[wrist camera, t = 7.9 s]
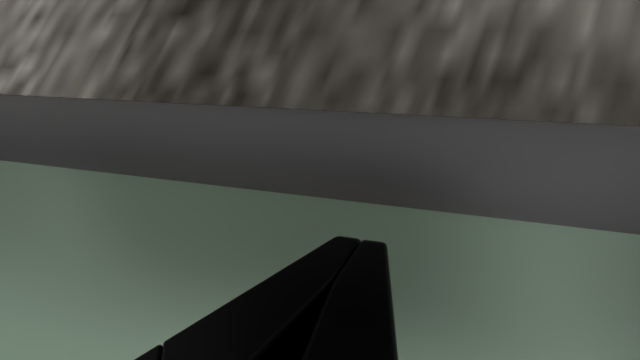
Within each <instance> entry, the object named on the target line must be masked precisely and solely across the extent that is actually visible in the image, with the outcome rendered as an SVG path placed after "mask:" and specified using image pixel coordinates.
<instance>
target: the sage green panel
mask: <svg viewBox="0 0 640 360" xmlns="http://www.w3.org/2000/svg"><path fill="white" fill-rule="evenodd" d="M336 236H344V237H351V238H357V239H359V240H360V241H363V240H372V241H379V242H384V243H386V245H387V248H388V258H389V268H390V279H391V289H392V299H393V309H394V319H395V329H396V339H397V349H398V360H640V126H626V125H606V124H586V123H565V122H545V121H525V120H505V119H485V118H465V117H445V116H425V115H405V114H384V113H364V112H344V111H324V110H304V109H284V108H264V107H244V106H224V105H203V104H183V103H163V102H143V101H123V100H103V99H83V98H63V97H43V96H22V95H2V94H0V360H134V359H136V358H138V357H139V356H141V355H143V354H144V353H146V352H147V351H149V350H151V349H152V348H154V347H156V346H157V345H162V346H163V343H164V341H166V340H167V339H169V338H171V337H172V336H174V335H176V334H177V333H179V332H180V331H182V330H184V329H185V328H187V327H189V326H190V325H192V324H193V323H195V322H197V321H198V320H200V319H202V318H203V317H205V316H207V315H208V314H210V313H211V312H213V311H215V310H216V309H218V308H220V307H221V306H223V305H225V304H226V303H228V302H229V301H231V300H233V299H234V298H236V297H238V296H239V295H241V294H242V293H244V292H246V291H247V290H249V289H251V288H252V287H254V286H256V285H257V284H259V283H260V282H262V281H264V280H265V279H267V278H269V277H270V276H272V275H274V274H275V273H277V272H278V271H280V270H282V269H283V268H285V267H287V266H288V265H290V264H291V263H293V262H295V261H296V260H298V259H300V258H301V257H303V256H305V255H306V254H308V253H309V252H311V251H313V250H314V249H316V248H318V247H319V246H321V245H323V244H324V243H326V242H327V241H329V240H331V239H332V238H334V237H336Z"/></svg>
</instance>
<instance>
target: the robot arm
mask: <svg viewBox="0 0 640 360" xmlns="http://www.w3.org/2000/svg"><path fill="white" fill-rule="evenodd" d="M134 360H398V349H397V339H396V329H395V319H394V309H393V299H392V289H391V279H390V268H389V258H388V248H387V245H386V243H384V242H379V241H372V240H363V241H360V240H359V239H357V238H351V237H344V236H336V237H334V238H332V239H331V240H329V241H327V242H326V243H324V244H323V245H321V246H319V247H318V248H316V249H314V250H313V251H311V252H309V253H308V254H306V255H305V256H303V257H301V258H300V259H298V260H296V261H295V262H293V263H291V264H290V265H288V266H287V267H285V268H283V269H282V270H280V271H278V272H277V273H275V274H274V275H272V276H270V277H269V278H267V279H265V280H264V281H262V282H260V283H259V284H257V285H256V286H254V287H252V288H251V289H249V290H247V291H246V292H244V293H242V294H241V295H239V296H238V297H236V298H234V299H233V300H231V301H229V302H228V303H226V304H225V305H223V306H221V307H220V308H218V309H216V310H215V311H213V312H211V313H210V314H208V315H207V316H205V317H203V318H202V319H200V320H198V321H197V322H195V323H193V324H192V325H190V326H189V327H187V328H185V329H184V330H182V331H180V332H179V333H177V334H176V335H174V336H172V337H171V338H169V339H167V340H166V341H164V343H163V346H162V345H157V346H156V347H154V348H152V349H151V350H149V351H147V352H146V353H144V354H143V355H141V356H139V357H138V358H136V359H134Z"/></svg>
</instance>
